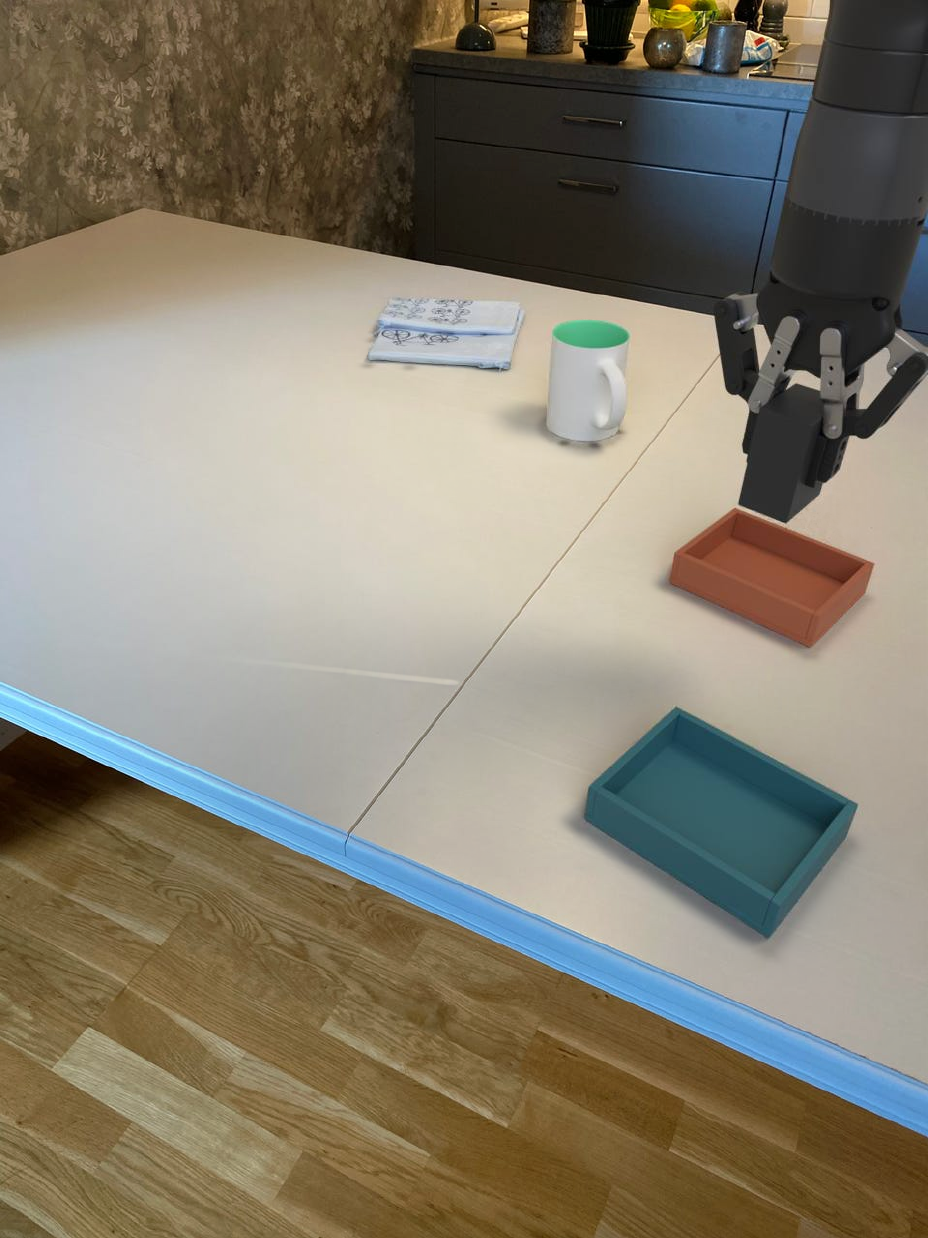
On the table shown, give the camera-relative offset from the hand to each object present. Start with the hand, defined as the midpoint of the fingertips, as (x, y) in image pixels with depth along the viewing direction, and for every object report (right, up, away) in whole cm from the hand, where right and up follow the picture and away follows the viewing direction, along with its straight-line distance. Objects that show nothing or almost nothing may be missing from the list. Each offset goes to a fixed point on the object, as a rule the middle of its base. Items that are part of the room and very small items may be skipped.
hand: (786, 470), depth 64 cm
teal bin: (-5, -23, -1) cm, 24 cm away
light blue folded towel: (-23, +27, +65) cm, 74 cm away
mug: (-7, +11, +43) cm, 45 cm away
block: (0, -2, +1) cm, 2 cm away
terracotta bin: (+5, -7, +20) cm, 22 cm away
